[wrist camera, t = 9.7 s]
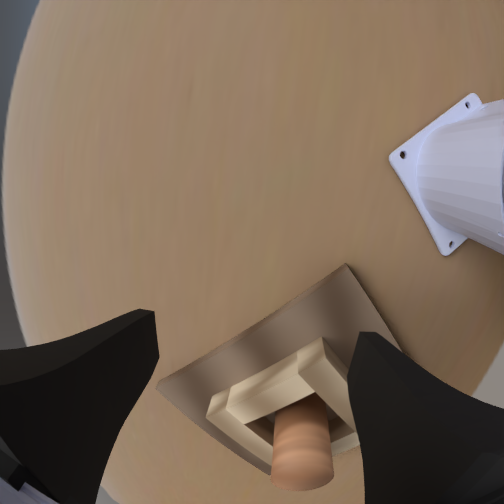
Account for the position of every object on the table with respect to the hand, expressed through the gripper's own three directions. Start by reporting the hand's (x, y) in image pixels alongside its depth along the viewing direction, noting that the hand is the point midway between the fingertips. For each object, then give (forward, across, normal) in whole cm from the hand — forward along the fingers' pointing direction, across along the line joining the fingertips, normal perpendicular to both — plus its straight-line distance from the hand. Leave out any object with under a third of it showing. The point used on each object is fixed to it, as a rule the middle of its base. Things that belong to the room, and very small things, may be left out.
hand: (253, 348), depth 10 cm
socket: (+9, -4, +12) cm, 15 cm away
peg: (+8, -4, +12) cm, 15 cm away
